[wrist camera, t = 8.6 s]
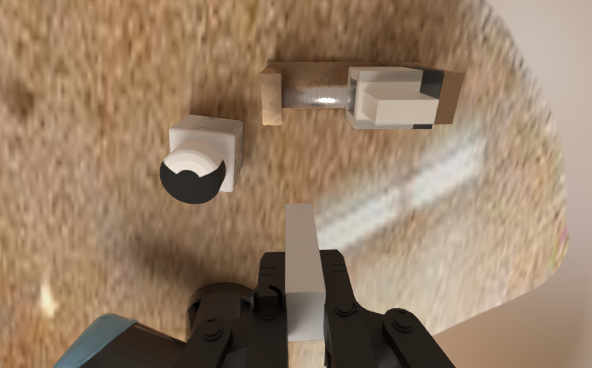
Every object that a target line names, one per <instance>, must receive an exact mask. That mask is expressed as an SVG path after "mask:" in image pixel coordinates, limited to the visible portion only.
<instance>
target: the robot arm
mask: <svg viewBox="0 0 592 368" xmlns="http://www.w3.org/2000/svg"><path fill="white" fill-rule="evenodd" d="M314 340H325V361H324V366H326V367H327V368H456V367H455V366H454V365H453V363H452V362H451V361H450V360H449V358H448V357H447V356H446V354H445V353H444V352H443V351H442V349H441V348H440V347H439V345H438V344H437V343H436V342H435V340H434V339H433V338H432V336H431V335H430V334H429V332H428V331H427V330H426V328H425V327H424V326H423V325H422V323H421V322H420V321H419V319H418V318H417V317H416V316H415V315H414V314H413V313H411V312H409V311H407V310H405V309H400V308H392V309H390V310H388V311H387V312H386V313H385V314H384V315H383V314H379V313H375V312H372V311H369V310H366V309H365V308H363V307H362V306H361V305H359V303H358V302H357V301H356V299H355V297H354V294H353V290H352V286H351V283H350V279H349V276H348V272H347V268H346V266H345V261H344V257H343V255H342V254H341V253H340V252H339V251H338V250H337V249H334V250H319V247H318V241H317V234H316V228H315V222H314V216H313V210H312V204H311V203H302V204H285V252H266V253H265V254H264V255H263V257H262V258H261V260H260V269H259V277H258V285H257V287H256V288H255V289H254V290H253V291H251V290H250V289H248V288H246V287H243V286H241V285H237V284H232V283H217V284H212V285H208V286H206V287H203V288H201V289H200V290H198V291H197V292H196V293H195V294H194V295H193V296H192V298H191V300H190V303H189V305H188V308H187V311H186V342H183V341H181V340H178V339H176V338H173V337H171V336H169V335H166V334H164V333H161V332H159V331H157V330H155V329H152V328H150V327H148V326H146V325H143V324H141V323H139V322H138V321H137V320H135V319H134V320H131V319H128V318H125V317H122V316H119V315H117V314H113V313H108V314H104V315H102V316H100V317H98V318H97V319H96V320H95V321H93V322H92V324H91V325H90V326H89V327H88V328H87V329H86V330H85V331H84V332H83V333H82V334H81V335H80V336H79V337H78V339H77V340H76V341H75V342H74V343H73V344H72V345H71V346H70V348H69V349H68V350H67V351H66V352H65V353H64V354H63V356H62V357H61V358H60V359H59V360H58V361H57V363H56V364H55V365H54V366H53V367H52V368H289V363H288V342H289V341H314Z"/></svg>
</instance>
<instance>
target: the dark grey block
mask: <svg viewBox="0 0 592 368" xmlns="http://www.w3.org/2000/svg"><path fill="white" fill-rule="evenodd" d="M406 68H411V69H416V70H421V71H423V75H422V81H421V86H420V91H419V93H422V94H425V95H428V96H430V97H433V98H436V99H438V97H439V92H440V88H441V83H442V79H443V74H444V71H442V70H436V69H430V68H424V67H406ZM432 125H433V124H413V129H432Z"/></svg>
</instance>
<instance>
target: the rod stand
mask: <svg viewBox="0 0 592 368" xmlns="http://www.w3.org/2000/svg"><path fill="white" fill-rule="evenodd" d="M421 63H422V62H267V67H266V68H265V69H264V70H263V71H262V72H261V73H260V80H261V99H262V119H263V125H282V118H283V109H346V108H355V98H356V87H357V85H348V72H349V67H423V66H421ZM424 68H429V67H424ZM430 69H435V68H430ZM436 70H441V69H436ZM442 71H444V74H443V79H442V83H441V88H440V92H439V97H438V100H439V102H438V107H437V111H436V116H435V121H434V124H452V122H453V118H454V114H455V110H456V106H457V102H458V98H459V94H460V90H461V86H462V82H463V78H464V74H465V73H459V72H453V71H447V70H442Z"/></svg>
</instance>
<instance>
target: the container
mask: <svg viewBox="0 0 592 368" xmlns="http://www.w3.org/2000/svg"><path fill="white" fill-rule="evenodd" d="M242 141H243V122H242V121H240V120H232V119H223V118H215V117H207V116H199V115H191V114H190V115H188V116H186V117H185V118H184V119H182V120H181V121H179V122H178V123H177V124H175V125H174V126H172V127H171V128H170V129H169V143H170V154H169V155H168V156H167V157H166V158H165V159H164V160H163V162H162V164H161V167H160V179H161V182H162V184H163V186H164V188H165V189H166V190H167V192H168V193H169V194H170V195H171V196H173V197H174V198H176V199H177V200H179V201H182V202H185V203H189V204H201V203H205V202H208V201H210V200H211V199H213V198H214V197H215V196H216V195H217V193H218V192H219V191H223V192H232V191H233V189H234V186H235V184H236V181H237V178H238V176H239V173H240V170H241V161H242Z"/></svg>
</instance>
